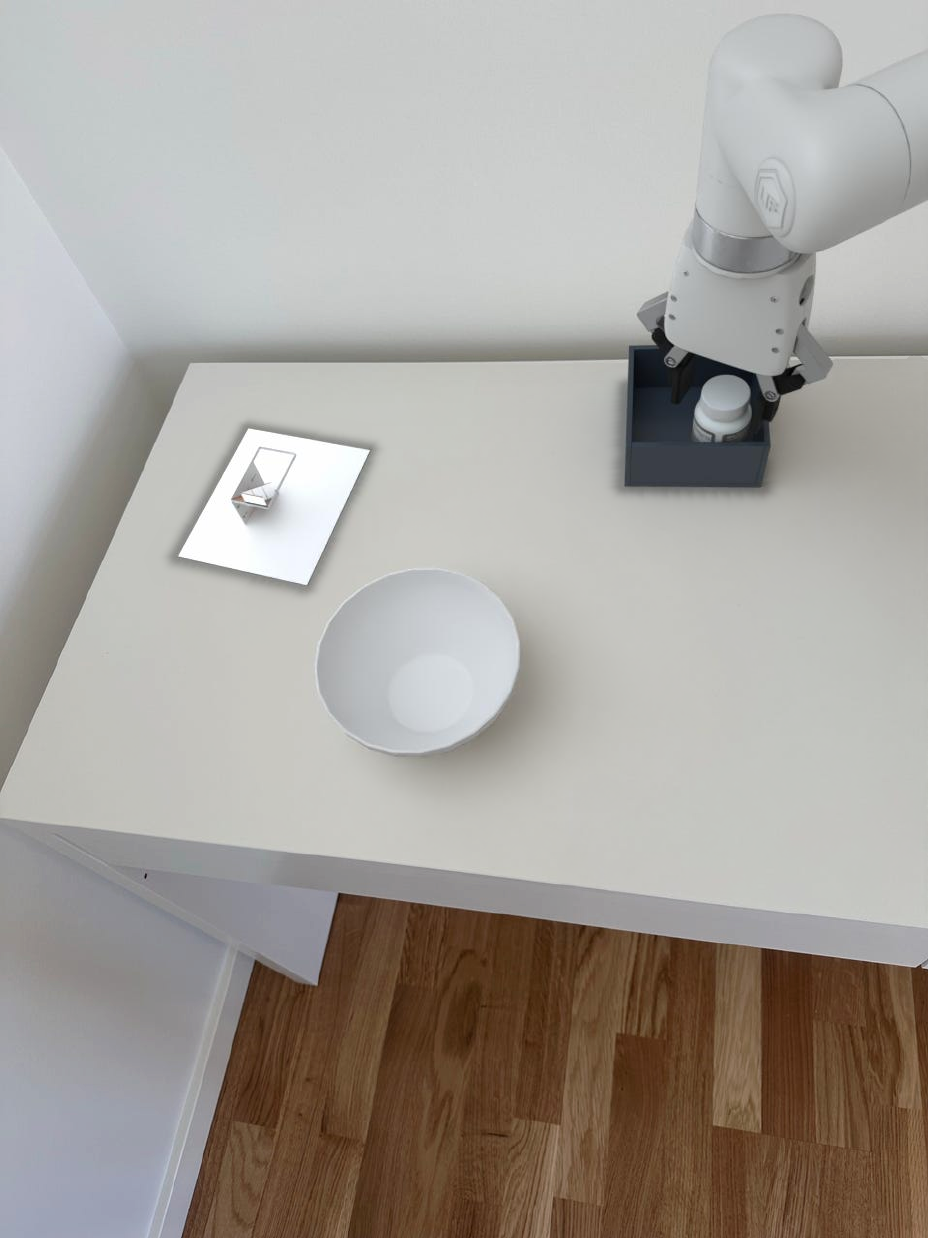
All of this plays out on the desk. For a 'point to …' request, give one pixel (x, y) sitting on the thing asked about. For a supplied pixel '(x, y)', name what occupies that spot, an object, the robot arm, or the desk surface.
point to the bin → (684, 429)
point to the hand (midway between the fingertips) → (720, 405)
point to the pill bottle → (722, 411)
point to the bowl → (418, 662)
